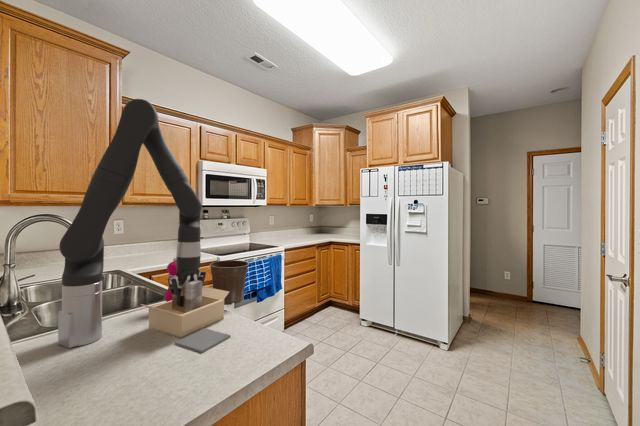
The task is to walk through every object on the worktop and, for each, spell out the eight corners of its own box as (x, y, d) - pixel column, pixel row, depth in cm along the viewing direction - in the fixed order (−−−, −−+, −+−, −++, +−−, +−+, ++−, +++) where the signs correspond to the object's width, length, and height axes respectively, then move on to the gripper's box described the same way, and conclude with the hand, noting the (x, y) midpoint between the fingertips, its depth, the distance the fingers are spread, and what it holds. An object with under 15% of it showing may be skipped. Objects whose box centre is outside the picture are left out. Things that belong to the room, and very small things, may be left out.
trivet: (202, 353, 79) (202, 350, 79) (174, 344, 84) (175, 342, 84) (230, 337, 89) (230, 335, 89) (204, 329, 94) (204, 328, 94)
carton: (172, 343, 84) (172, 312, 84) (139, 332, 91) (139, 303, 91) (230, 316, 106) (230, 291, 106) (199, 308, 113) (200, 285, 113)
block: (190, 314, 94) (191, 284, 94) (172, 309, 98) (172, 280, 98) (201, 310, 98) (202, 281, 98) (183, 305, 102) (184, 277, 102)
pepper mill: (180, 303, 118) (180, 255, 118) (188, 307, 114) (189, 257, 113) (161, 308, 113) (161, 257, 112) (169, 312, 108) (170, 259, 108)
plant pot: (252, 295, 132) (252, 260, 131) (243, 307, 116) (244, 267, 115) (216, 294, 131) (216, 259, 131) (202, 307, 115) (203, 267, 115)
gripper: (177, 258, 90) (175, 312, 90) (212, 253, 103) (211, 300, 103) (162, 256, 93) (160, 308, 93) (197, 251, 106) (196, 297, 106)
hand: (187, 304), depth 98 cm, fingers closed on block, 4 cm apart
